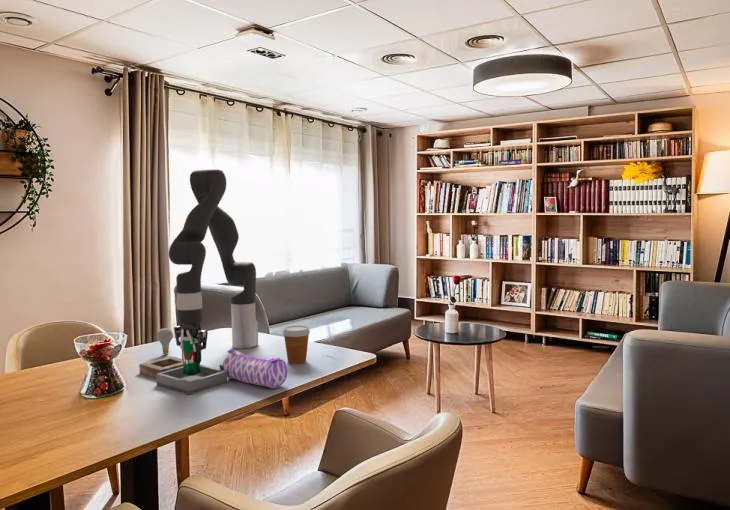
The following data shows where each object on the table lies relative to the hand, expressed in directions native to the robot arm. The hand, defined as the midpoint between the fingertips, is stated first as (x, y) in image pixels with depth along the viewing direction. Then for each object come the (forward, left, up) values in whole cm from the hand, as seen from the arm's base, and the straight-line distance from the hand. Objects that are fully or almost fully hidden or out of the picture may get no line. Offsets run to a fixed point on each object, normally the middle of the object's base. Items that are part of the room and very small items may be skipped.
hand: (191, 361), depth 164 cm
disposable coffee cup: (-36, +10, -7) cm, 38 cm away
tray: (0, 0, -7) cm, 7 cm away
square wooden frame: (-3, -18, -7) cm, 19 cm away
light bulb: (-16, -38, -7) cm, 42 cm away
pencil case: (-12, +15, -7) cm, 20 cm away
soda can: (0, 0, -4) cm, 4 cm away
